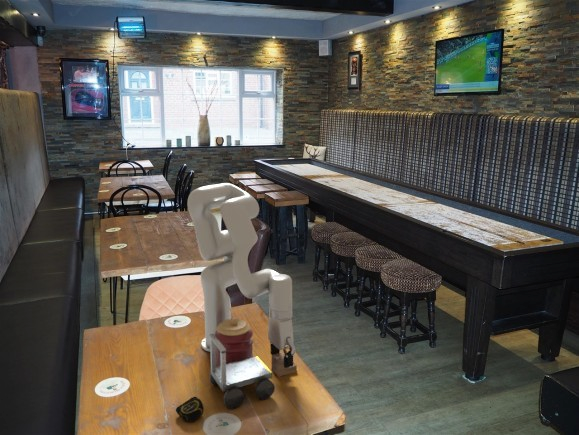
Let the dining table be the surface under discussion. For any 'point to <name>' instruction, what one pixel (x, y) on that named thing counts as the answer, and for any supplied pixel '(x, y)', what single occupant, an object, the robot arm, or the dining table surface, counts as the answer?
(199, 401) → the tape measure
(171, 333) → the dining table surface
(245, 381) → the trolley
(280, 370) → the block
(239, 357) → the canister
